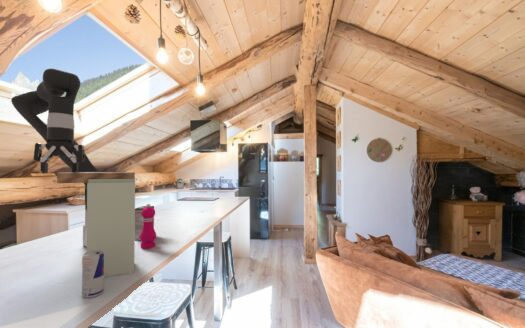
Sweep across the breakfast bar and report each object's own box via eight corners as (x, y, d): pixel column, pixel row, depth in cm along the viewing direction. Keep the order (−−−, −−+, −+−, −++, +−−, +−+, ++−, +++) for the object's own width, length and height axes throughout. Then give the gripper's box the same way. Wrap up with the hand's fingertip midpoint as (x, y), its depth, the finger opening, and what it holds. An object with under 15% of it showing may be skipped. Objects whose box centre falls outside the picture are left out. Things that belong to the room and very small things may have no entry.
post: (86, 279, 87) (87, 179, 87) (92, 268, 96) (92, 178, 96) (133, 272, 92) (133, 179, 92) (134, 262, 101) (135, 177, 102)
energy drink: (107, 291, 79) (108, 251, 79) (91, 299, 74) (91, 257, 74) (94, 288, 80) (95, 249, 80) (77, 296, 75) (77, 255, 75)
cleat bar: (56, 183, 86) (57, 172, 86) (60, 182, 89) (60, 172, 89) (134, 181, 95) (134, 172, 95) (134, 181, 99) (134, 172, 99)
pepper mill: (159, 244, 125) (159, 202, 125) (151, 249, 118) (151, 205, 118) (144, 244, 125) (145, 202, 126) (136, 248, 118) (136, 204, 118)
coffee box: (142, 235, 141) (142, 205, 141) (154, 235, 141) (154, 205, 141) (133, 240, 132) (134, 208, 132) (146, 240, 132) (146, 208, 132)
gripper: (30, 124, 86) (29, 173, 86) (80, 127, 90) (79, 174, 90) (41, 127, 93) (40, 173, 93) (87, 130, 97) (86, 173, 97)
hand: (59, 173), depth 91 cm, fingers open, 8 cm apart
